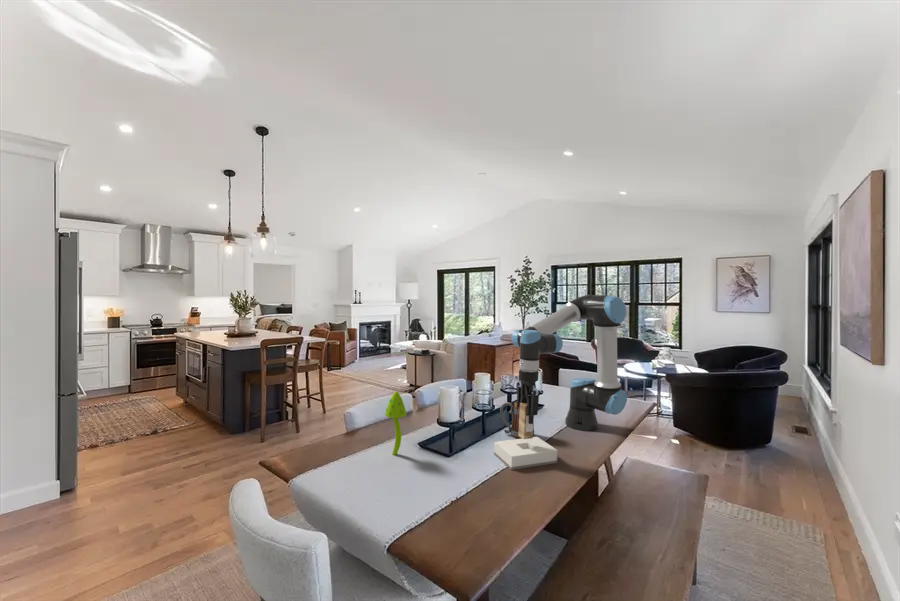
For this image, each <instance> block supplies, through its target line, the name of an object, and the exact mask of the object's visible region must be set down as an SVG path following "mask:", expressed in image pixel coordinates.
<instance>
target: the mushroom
mask: <svg viewBox="0 0 900 601" xmlns="http://www.w3.org/2000/svg"><path fill="white" fill-rule="evenodd" d="M384 416H385V417H387V418H390V419H391V418H392V421H393V426H394V432H395V434H394V436H395V439H394V446H393V450H392V453H391V455H392V456H397V455H398V452H399V450H400V447H401V445H402V444H401V442H402V431H401V426H400V422H399V418H404V417H406V416H407V409H406V406H405V404H404V401H403V399H402V397H401V395H400V393H399V392H398V391H395V392H393V394H392V395H391V396H390V398H389V401H388V403H387V405H386V408H385V411H384Z"/></svg>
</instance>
